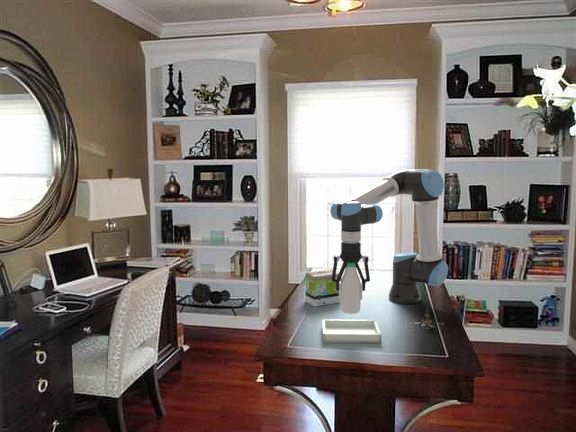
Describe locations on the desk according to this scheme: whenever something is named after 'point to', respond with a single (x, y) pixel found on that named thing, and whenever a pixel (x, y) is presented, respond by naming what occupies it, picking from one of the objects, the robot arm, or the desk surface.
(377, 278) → the desk surface
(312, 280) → the tea box
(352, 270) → the milk bottle
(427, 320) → the eiffel tower figurine
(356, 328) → the tray
